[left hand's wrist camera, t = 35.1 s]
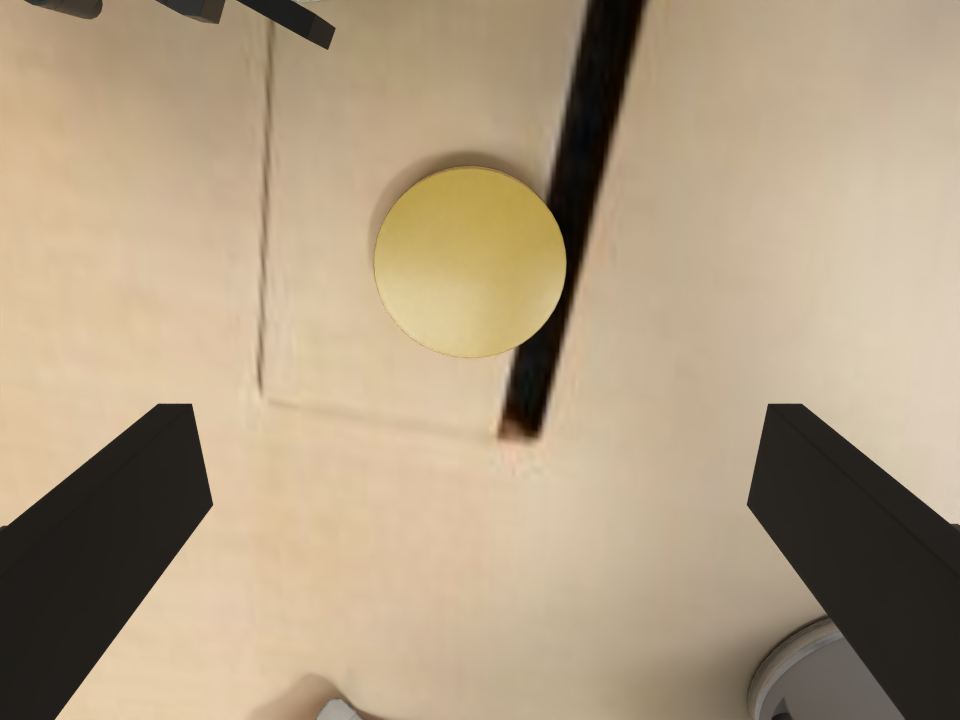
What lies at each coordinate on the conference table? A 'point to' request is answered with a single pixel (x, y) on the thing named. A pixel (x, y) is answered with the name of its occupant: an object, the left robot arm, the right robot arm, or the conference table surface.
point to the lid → (470, 262)
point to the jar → (307, 0)
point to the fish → (338, 711)
